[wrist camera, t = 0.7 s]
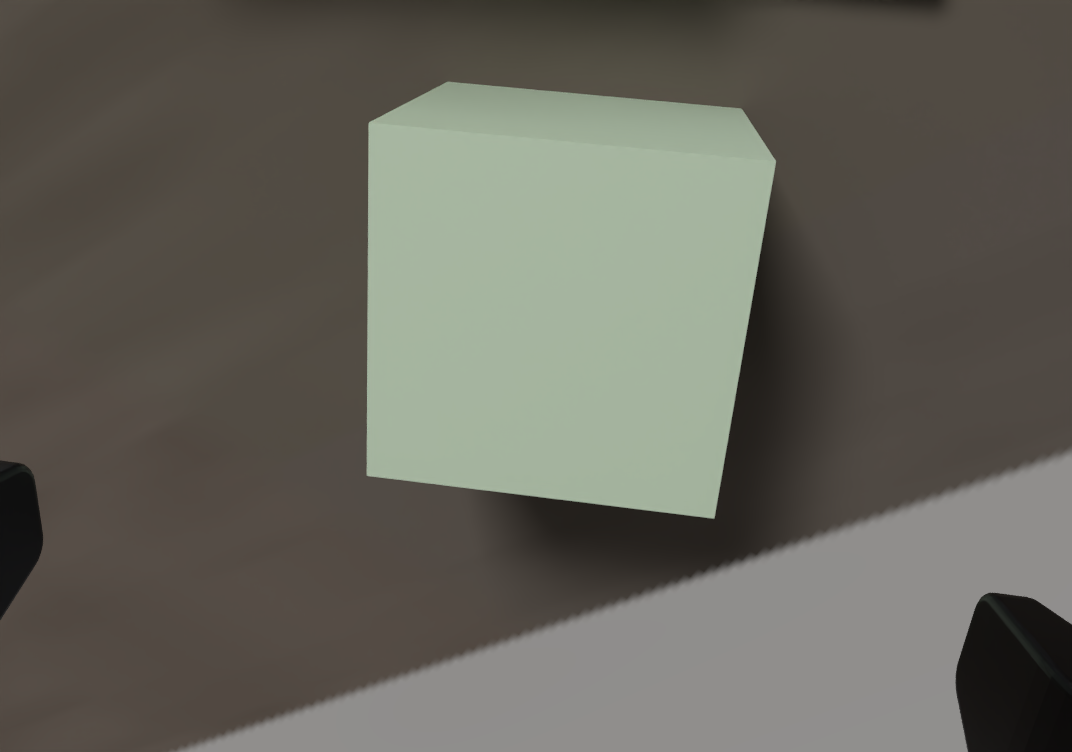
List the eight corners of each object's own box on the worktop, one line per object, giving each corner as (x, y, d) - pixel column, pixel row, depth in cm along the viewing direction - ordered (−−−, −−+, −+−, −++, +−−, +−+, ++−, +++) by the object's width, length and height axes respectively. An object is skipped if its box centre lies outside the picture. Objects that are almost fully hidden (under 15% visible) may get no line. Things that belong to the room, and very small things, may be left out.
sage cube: (741, 108, 19) (776, 161, 14) (699, 380, 22) (714, 518, 16) (448, 81, 20) (368, 122, 14) (438, 350, 22) (367, 475, 17)
